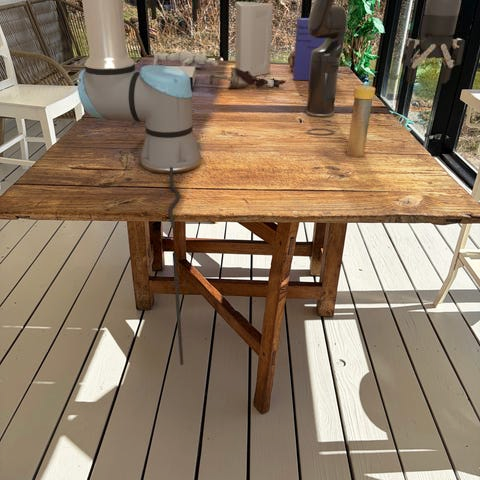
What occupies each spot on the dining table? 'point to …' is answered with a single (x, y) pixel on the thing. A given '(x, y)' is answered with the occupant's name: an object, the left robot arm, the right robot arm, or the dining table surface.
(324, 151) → the dining table surface
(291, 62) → the anatomical model
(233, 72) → the figurine
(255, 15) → the tall white pillar
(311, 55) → the right robot arm
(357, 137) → the tan cylinder
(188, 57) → the toy
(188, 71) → the disc drive
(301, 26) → the cereal box
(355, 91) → the lid
